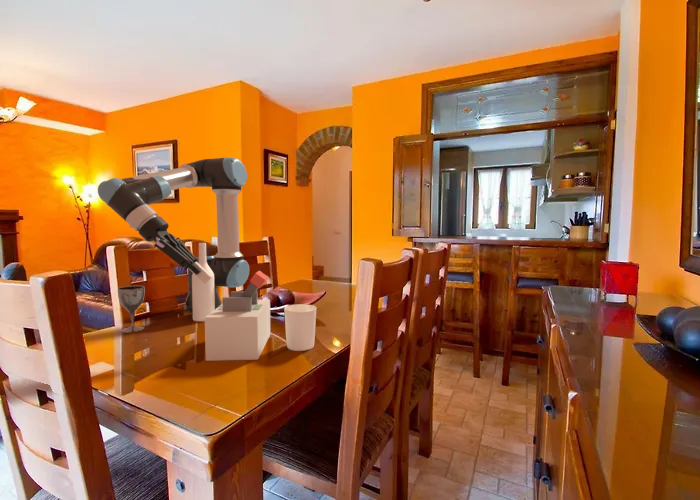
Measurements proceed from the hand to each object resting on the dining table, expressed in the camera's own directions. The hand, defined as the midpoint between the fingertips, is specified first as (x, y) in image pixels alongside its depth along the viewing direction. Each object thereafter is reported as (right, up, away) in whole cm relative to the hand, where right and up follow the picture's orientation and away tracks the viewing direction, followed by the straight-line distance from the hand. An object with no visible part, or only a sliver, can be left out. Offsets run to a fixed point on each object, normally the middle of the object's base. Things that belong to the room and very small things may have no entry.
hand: (208, 280), depth 103 cm
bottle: (-15, -18, +32) cm, 40 cm away
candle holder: (+27, -21, +2) cm, 34 cm away
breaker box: (+9, -20, +2) cm, 22 cm away
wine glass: (-34, -19, +18) cm, 43 cm away
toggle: (+9, -7, +1) cm, 12 cm away
